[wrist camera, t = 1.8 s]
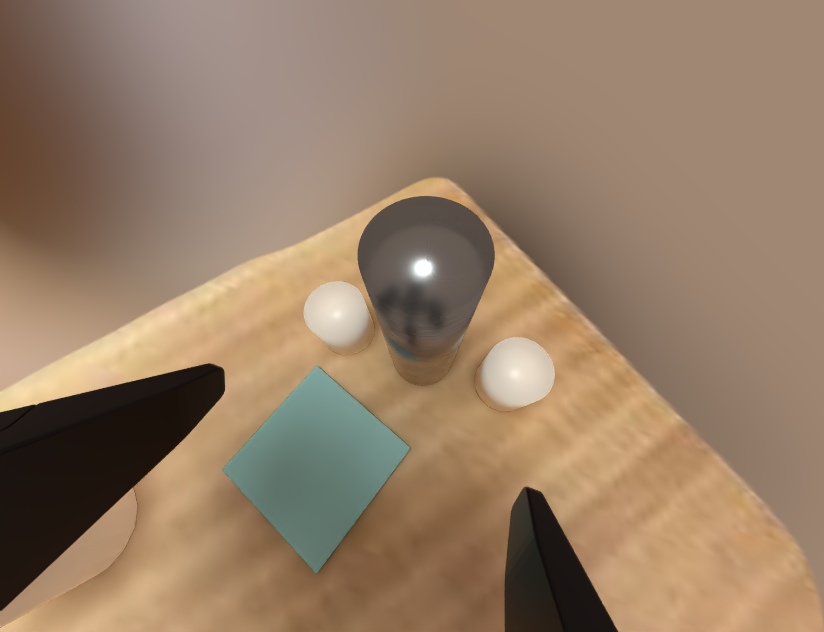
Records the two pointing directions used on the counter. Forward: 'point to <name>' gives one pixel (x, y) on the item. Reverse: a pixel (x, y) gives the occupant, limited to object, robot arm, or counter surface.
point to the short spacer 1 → (339, 317)
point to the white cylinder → (79, 559)
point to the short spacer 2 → (514, 374)
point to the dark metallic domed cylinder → (425, 280)
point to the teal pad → (316, 466)
